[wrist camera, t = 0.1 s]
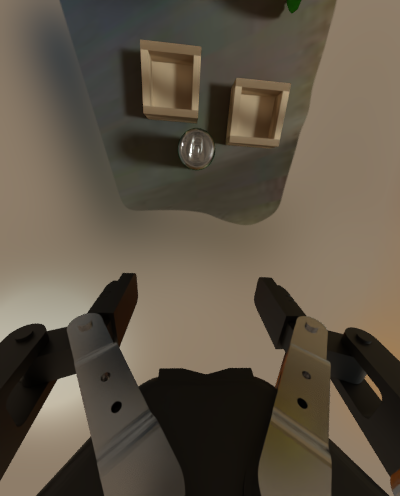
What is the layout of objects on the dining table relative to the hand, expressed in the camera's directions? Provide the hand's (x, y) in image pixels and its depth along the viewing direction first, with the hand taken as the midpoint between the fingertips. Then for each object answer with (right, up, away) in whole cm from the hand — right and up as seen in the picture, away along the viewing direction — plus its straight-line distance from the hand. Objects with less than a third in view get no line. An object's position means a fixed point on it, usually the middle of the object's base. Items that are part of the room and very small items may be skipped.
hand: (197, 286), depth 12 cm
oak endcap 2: (+9, +26, +21) cm, 34 cm away
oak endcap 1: (-4, +29, +19) cm, 35 cm away
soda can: (-1, +20, +23) cm, 31 cm away
